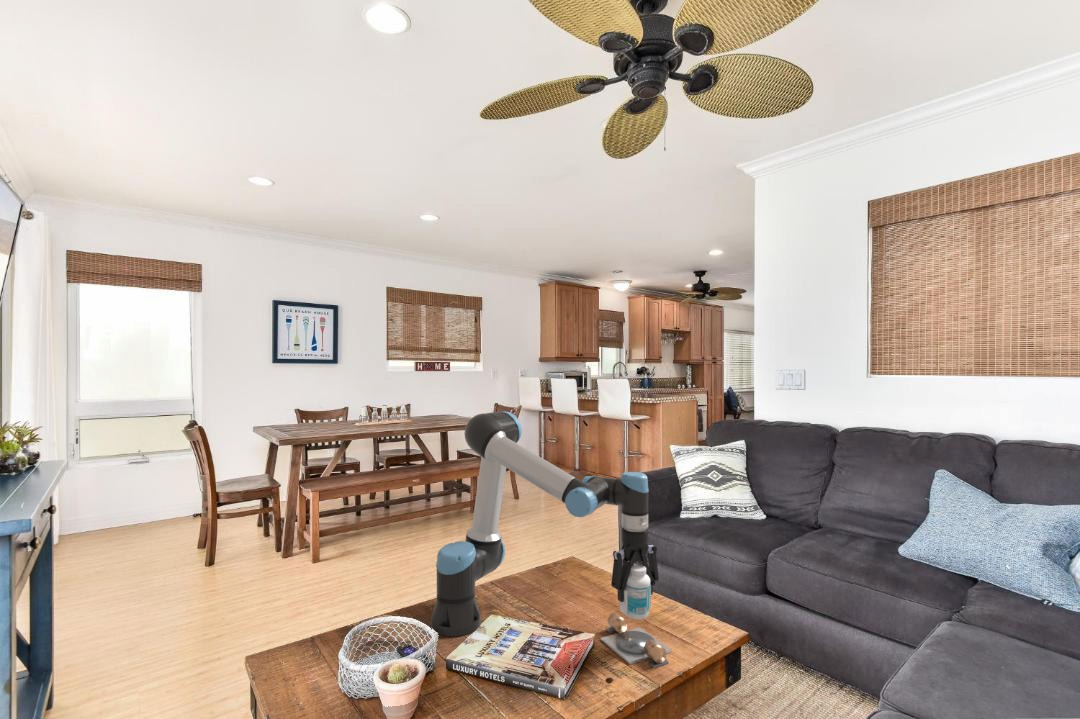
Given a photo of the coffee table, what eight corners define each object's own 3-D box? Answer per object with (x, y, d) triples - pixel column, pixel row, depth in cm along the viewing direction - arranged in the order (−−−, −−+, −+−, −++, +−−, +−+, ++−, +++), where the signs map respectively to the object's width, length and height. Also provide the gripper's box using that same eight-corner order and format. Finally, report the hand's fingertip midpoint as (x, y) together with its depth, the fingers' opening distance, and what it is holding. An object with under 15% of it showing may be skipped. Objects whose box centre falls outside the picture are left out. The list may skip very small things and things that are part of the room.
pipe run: (593, 633, 154) (593, 617, 154) (631, 623, 160) (631, 608, 160) (639, 672, 134) (639, 654, 134) (681, 659, 140) (681, 642, 140)
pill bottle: (631, 603, 152) (633, 558, 152) (653, 614, 147) (656, 567, 147) (616, 613, 147) (619, 566, 146) (639, 624, 142) (642, 576, 141)
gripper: (612, 536, 140) (613, 622, 139) (671, 526, 149) (672, 607, 148) (597, 529, 147) (597, 611, 146) (655, 520, 155) (655, 597, 155)
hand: (635, 609), depth 147 cm, fingers closed on pill bottle, 7 cm apart
